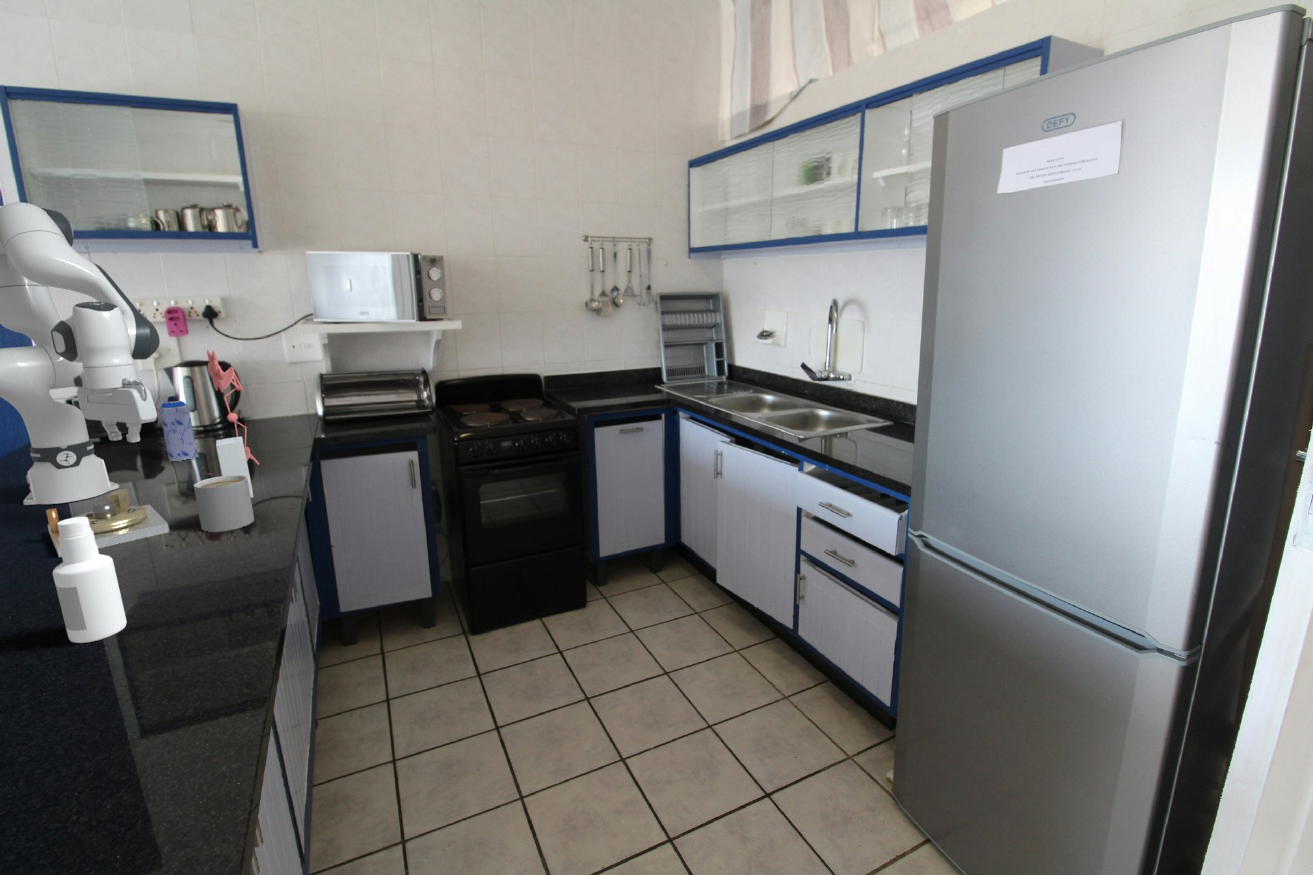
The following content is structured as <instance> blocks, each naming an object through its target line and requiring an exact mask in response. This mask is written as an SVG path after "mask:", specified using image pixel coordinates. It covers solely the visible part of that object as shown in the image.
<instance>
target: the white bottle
mask: <svg viewBox="0 0 1313 875" xmlns="http://www.w3.org/2000/svg"><path fill="white" fill-rule="evenodd" d="M74 517H75V516H74ZM57 526H58V530H59V538H58V539H59V543H60V547H61V555H62V557H61V558H62V562H61V563H60V564H58V565H56V567H55V568H54V569H53V571H52V577H53V581H54V584H55V588H56V592H57V597H58V601H59V605H60V610H61V613H62V616H63V622H64V624H65V630H66V633H67V637H68V639H69V641H70V642H71V643H74V644H77V643H78V644H84V643H91V642H95V641H100V640H103V639H106V638H110V637H111V636H113V635H116V634H118V633H119V632H121V631H122V630H123V629H125V627H126V625H127V623H128V622H127V617H126V612H125V608H124V604H123V600H122V599H123V598H122V595H121V590H120V587H119V581H118V576H117V573H116V572H117V571H116V568H115V564H114V560H113V558H112V557H111V556H110V555H106V554H100V552H99V548H98V547H97V544H96V542H95V537H94V533H93V531H92V530H91V528H90V525H89V520H88V518H87V517H75V518H73V517H70V518H66V519H63V520H59V522H58V523H57Z"/></svg>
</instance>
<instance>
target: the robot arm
mask: <svg viewBox="0 0 1313 875" xmlns="http://www.w3.org/2000/svg"><path fill="white" fill-rule="evenodd" d="M73 244H74V231H73V228H72V226H71V223H70V221H69V220H68V218H67V217H66V216H65V215H64V214H63V213H62V212H60V211H57V210H54V209H50V208H46V207H44V208H43V207H39V206H37V205H36V204H32V203H28V202H22V201H21V202H20V201H19V202H10V203H7V204H4V205H0V325H1V326H2V327H4V328H5V329H7V330H10V331H12V332H15V333H19V334H23V335H24V336H26V337H28V338H29V339H31V340H32V341H33V342H34V344H35V345H31V346H17V347H15V346H14V347H3V348H0V398H1V399H3V400H4V401H6V402H7V403H9V405H11V406H12V407H13V408H14V409H16V411H17V412H18V413H19V414H20V416H21V418H22V420H23V422H24V425H25V427H26V431H27V433H28V437H29V441H30V445H31V446H30V448H29V451H30V453H29V454H30V456H31V460H32V461H33V465H32V466H31V467H30V468H29V470H28V471H27V474H26V477H25V478H26V481H27V484H28V485H29V487H28V488H29V491H30V492H29V493H28V495H27V496H26V497H25V498H24V499H23V505H24V506H30V505H31V506H32V505H53V504H55V505H57V504H65V503H70V502H76V501H77V502H78V501H81V500H87V499H90V498H95V497H98V496H101V495H103V494H106V493H109V492H111V491H115V490H118V489H119V488H120V485H119V483H116V482H113V481H110V480H109V475H108V472H107V467H106V464H105V461H104V459H102V458H101V457H98V456H97V455H96V454H94V453H95V446H94V443H93V440H92V439H90V436H89V433H88V428H87V422H86V420H92V421H101V425H102V427H103V428H104V430H105V431H106V432H107V435H108V439H109V440H110V441H113V442H114V441H116V442H117V441H120V440H121V441H122V439H123V436H122V432H121V431H120V430H119V428H118V426H117V423H125V425H126V428H128V432H127V433H128V434H126V435H125V436H126V441H127V442H129V443H137V442H140V441H141V437H140V432H141V428H142V424H145V423H147V424H149V423H153V422H155V421H157V417H158V413H157V412H158V411H157V408H156V406H155V402H154V399H153V396H152V393H151V391H150V390H149V389H148V388H147V386H146V385H145V384H143V383H142V381H141V380H140V379H139V376H138V372H137V368H136V367H137V366H136V362H135V360H140V361H141V360H144V361H145V360H148V359H149V358H150V357H152V356H153V355H154V354H155V353H156V351H157V350H158V348H159V347H160V344H161V341H160V340H161V339H160V335H159V332H158V330H157V328H156V326H155V325H154V324H153V323H152V322H151V321H150V320H149V319H148V318H146V316H144V315H143V314H142V313H141V312H140V311H139V310H138V309H137V307H136V306H135V305H134V304H133V303H132V302H131V300H130V299H129V298H128V297H127V295H126V294H125V293H124V291H122V289H121V288H120V286H118V284H117V283H116V282H115V281H114V279H113V278H112V277H111V276H110V275H109V273H107V272H106V270H105V269H103V267H102V266H100V265H98V264H97V263H95V262H93V261H90V260H88V259H87V258H85V257H84V256H83V255H81V254H79V253H78V252H77V251H76V249H74V248H73V247H72V246H73ZM49 287H50V288H55V289H62V290H66V291H72V292H75V293H80V294H83V295H86V296H89V297H91V298H92V299H94V300H95V301H85V302H79V303H76V304H74V305H73V306H72V315H71V316H69V317H68V318H67V319H64V320H62V318H61V317H60V315H59V313H58V310H57V308H56V305H55V303H54V300H53V297H52V294H51V290H50V288H49ZM66 388H77V390H76V397H77V401H78V405H79V408H80V409H79V408H78V407H77V406H74V405H72V404H69V403H66V402H62V401H57V400H55V399H54V398H53V396H52V395H51V393H50V391H51V390H56V389H66Z"/></svg>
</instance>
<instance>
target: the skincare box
mask: <svg viewBox="0 0 1313 875" xmlns="http://www.w3.org/2000/svg"><path fill="white" fill-rule="evenodd" d="M215 441H216V442H215V443H216V444H215V450H216V453H217V460H218V463H219V464H218V465H219V469H220V475H221V476H228V475H243V476H246V477H247V480H248V485H249V491H250V497H251V499H252V498H254V492H253V486H252V485H253V484H252V481H251V476H250V471H249V466H248V461H247V459H246V454H245V449H244V448H245V443H244V439H243V437H242V436H238V437H237V436H236V437H235V436H234V437H228V438H222V439H221V438H220V439H216V440H215Z"/></svg>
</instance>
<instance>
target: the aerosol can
mask: <svg viewBox="0 0 1313 875" xmlns="http://www.w3.org/2000/svg"><path fill="white" fill-rule="evenodd" d="M159 415H160V420H161V426H162V431H163V437H164V441H165V445H166V446H165V447H166V451H167V457H168V459H169V460H170V461H169V462H171V461H178V462H183V461H182V460H186V459H192V460H194V459H193V458H195V457H198V458H199V454H198V450H197V446H196V445H197V444H196V439H195V433H194V428H193V424H192V419H191V412H190V408H189V405H188V404H187V403H186V402H185V401H182V400H180V399H178V397H177V396H176V395H171V396H167V401H165V402H164V403H162V404H161V406H159ZM195 459H196V458H195Z"/></svg>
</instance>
